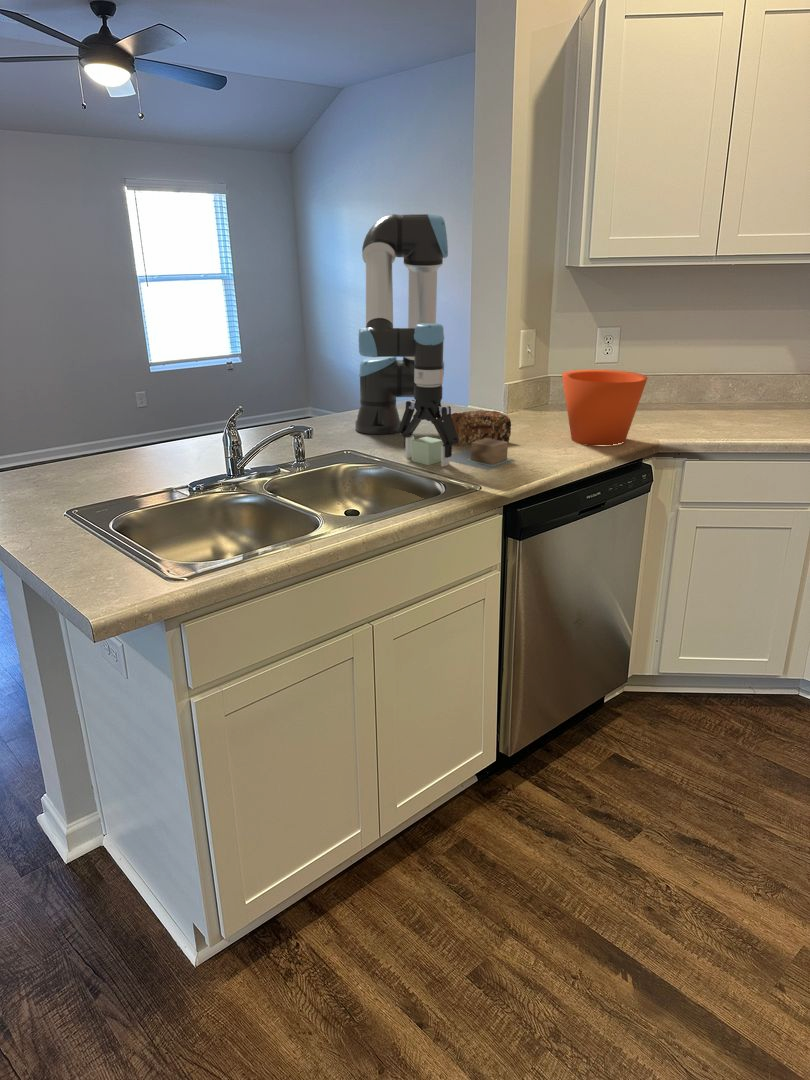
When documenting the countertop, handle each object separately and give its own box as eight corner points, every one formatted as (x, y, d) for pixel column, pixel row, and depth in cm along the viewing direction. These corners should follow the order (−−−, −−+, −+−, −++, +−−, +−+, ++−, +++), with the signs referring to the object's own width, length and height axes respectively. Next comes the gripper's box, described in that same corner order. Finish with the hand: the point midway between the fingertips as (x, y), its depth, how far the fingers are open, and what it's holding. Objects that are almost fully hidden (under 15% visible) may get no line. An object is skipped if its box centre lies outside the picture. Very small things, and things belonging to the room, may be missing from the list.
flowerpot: (571, 427, 246) (576, 367, 239) (648, 436, 235) (656, 373, 228) (545, 443, 226) (550, 377, 219) (628, 454, 215) (636, 385, 207)
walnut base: (470, 460, 203) (471, 442, 201) (486, 455, 208) (487, 437, 206) (491, 465, 199) (492, 446, 197) (506, 459, 204) (507, 442, 202)
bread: (458, 450, 218) (459, 417, 215) (441, 442, 227) (441, 410, 224) (511, 444, 226) (513, 411, 222) (493, 437, 235) (494, 405, 231)
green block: (411, 465, 203) (411, 440, 200) (426, 461, 207) (426, 436, 205) (428, 469, 199) (428, 444, 197) (442, 465, 203) (443, 440, 201)
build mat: (437, 462, 206) (438, 457, 205) (466, 453, 214) (466, 449, 214) (487, 474, 195) (487, 469, 194) (515, 464, 204) (516, 459, 203)
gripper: (385, 381, 200) (385, 458, 208) (455, 392, 185) (453, 475, 193) (403, 378, 205) (403, 454, 213) (473, 388, 190) (470, 469, 198)
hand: (427, 464), depth 203 cm, fingers open, 12 cm apart
